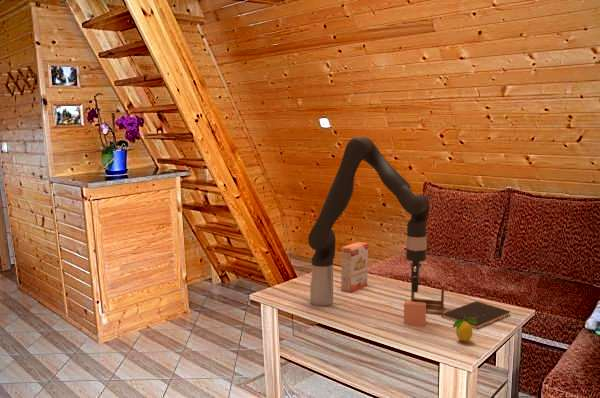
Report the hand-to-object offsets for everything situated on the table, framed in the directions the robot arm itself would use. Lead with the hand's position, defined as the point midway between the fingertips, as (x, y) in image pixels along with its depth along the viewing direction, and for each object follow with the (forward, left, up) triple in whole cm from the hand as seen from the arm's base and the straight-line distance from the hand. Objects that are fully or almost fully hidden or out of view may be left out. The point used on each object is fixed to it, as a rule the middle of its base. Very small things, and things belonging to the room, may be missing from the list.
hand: (415, 288), depth 195 cm
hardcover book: (+23, +13, -15) cm, 30 cm away
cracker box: (-30, +36, -14) cm, 49 cm away
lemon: (+18, -13, -14) cm, 26 cm away
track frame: (+4, +17, -14) cm, 22 cm away
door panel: (0, 0, -14) cm, 14 cm away
